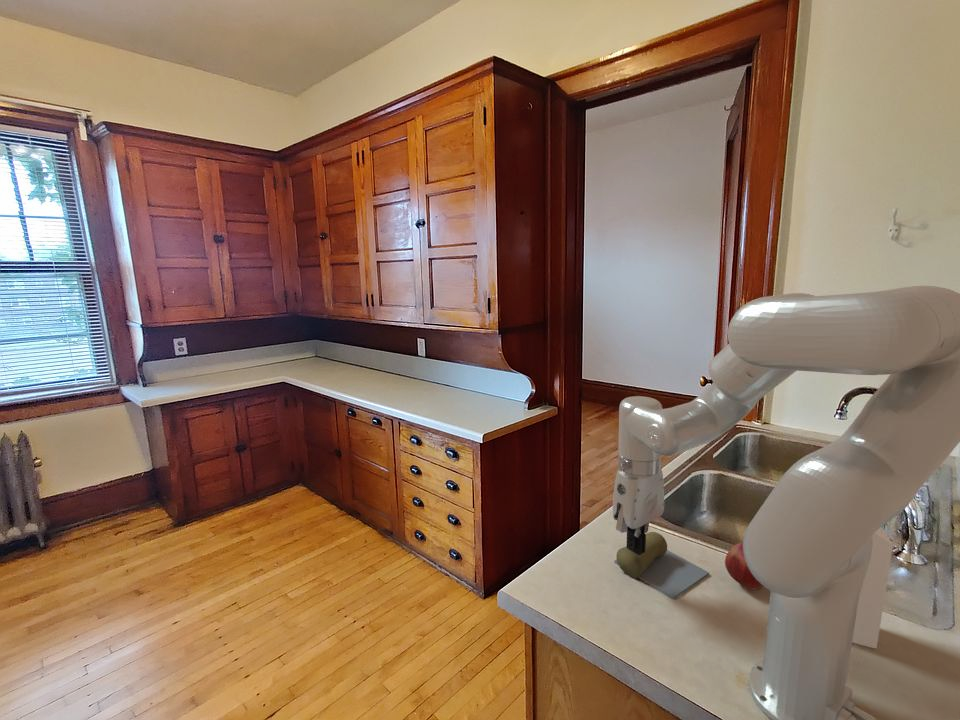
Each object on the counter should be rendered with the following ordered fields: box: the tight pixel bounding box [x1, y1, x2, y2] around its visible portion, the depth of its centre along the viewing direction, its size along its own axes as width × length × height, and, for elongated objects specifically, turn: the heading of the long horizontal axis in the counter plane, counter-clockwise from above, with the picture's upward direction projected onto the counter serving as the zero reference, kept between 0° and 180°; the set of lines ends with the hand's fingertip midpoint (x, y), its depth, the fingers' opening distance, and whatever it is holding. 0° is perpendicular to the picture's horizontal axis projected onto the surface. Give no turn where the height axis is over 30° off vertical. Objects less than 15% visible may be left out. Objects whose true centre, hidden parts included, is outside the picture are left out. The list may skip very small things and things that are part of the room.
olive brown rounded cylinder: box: [616, 531, 668, 579], centre depth 98 cm, size 6×6×11 cm
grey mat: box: [614, 549, 710, 600], centre depth 97 cm, size 14×12×1 cm
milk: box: [852, 526, 894, 650], centre depth 78 cm, size 6×6×22 cm
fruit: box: [724, 542, 764, 590], centre depth 91 cm, size 8×8×10 cm
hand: (635, 550), depth 91 cm, fingers closed
